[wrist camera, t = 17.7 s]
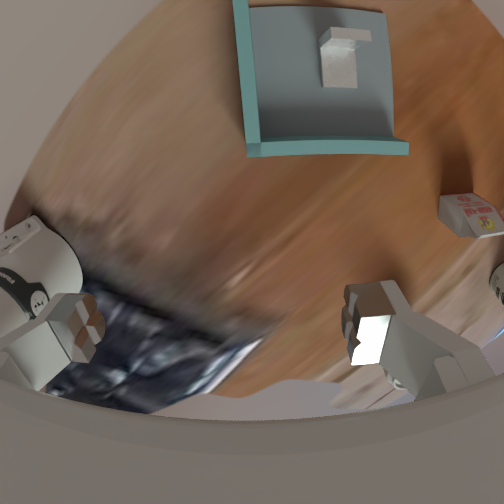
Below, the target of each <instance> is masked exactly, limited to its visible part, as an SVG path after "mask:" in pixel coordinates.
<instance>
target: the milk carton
mask: <svg viewBox="0 0 504 504" xmlns="http://www.w3.org/2000/svg"><path fill="white" fill-rule="evenodd" d="M438 219H439V220H440V221H441V222H442V223H443V224H445V225H446V226H447V227H448V228H449V229H450V230H452V231H453V232H454V233H455V234H456V235H457V236H458V237H474V238H476V239H478V238H484V237H490V236H496V235H501V234H504V219H503V217H502V216H501V214H500V212H499V211H498V209H497V208H496V206H494V205H492V204H491V203H489V202H488V201H486V200H485V199H483V198H481V197H480V196H478V195H477V194H475V193H461V194H449V195H440V201H439V215H438Z"/></svg>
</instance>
